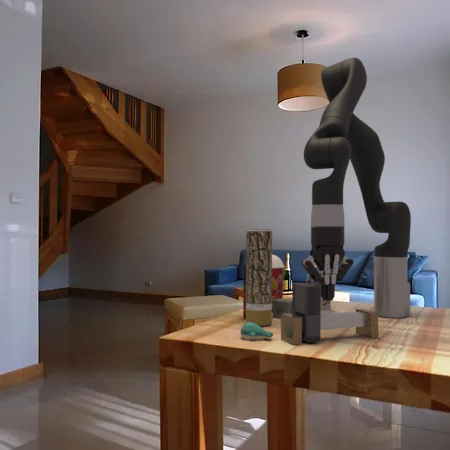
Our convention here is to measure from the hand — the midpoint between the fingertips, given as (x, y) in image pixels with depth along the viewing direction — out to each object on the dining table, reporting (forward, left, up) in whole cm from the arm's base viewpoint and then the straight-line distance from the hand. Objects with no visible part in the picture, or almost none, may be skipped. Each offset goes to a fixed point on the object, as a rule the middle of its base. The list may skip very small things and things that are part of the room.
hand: (327, 300), depth 109 cm
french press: (-17, -33, -9) cm, 38 cm away
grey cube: (-3, -27, -9) cm, 28 cm away
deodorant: (+6, -28, -9) cm, 30 cm away
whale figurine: (+16, -5, -9) cm, 19 cm away
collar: (+6, 0, -9) cm, 10 cm away
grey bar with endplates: (-1, 0, -9) cm, 9 cm away
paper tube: (+8, -20, -9) cm, 23 cm away
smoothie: (-4, -38, -9) cm, 39 cm away
